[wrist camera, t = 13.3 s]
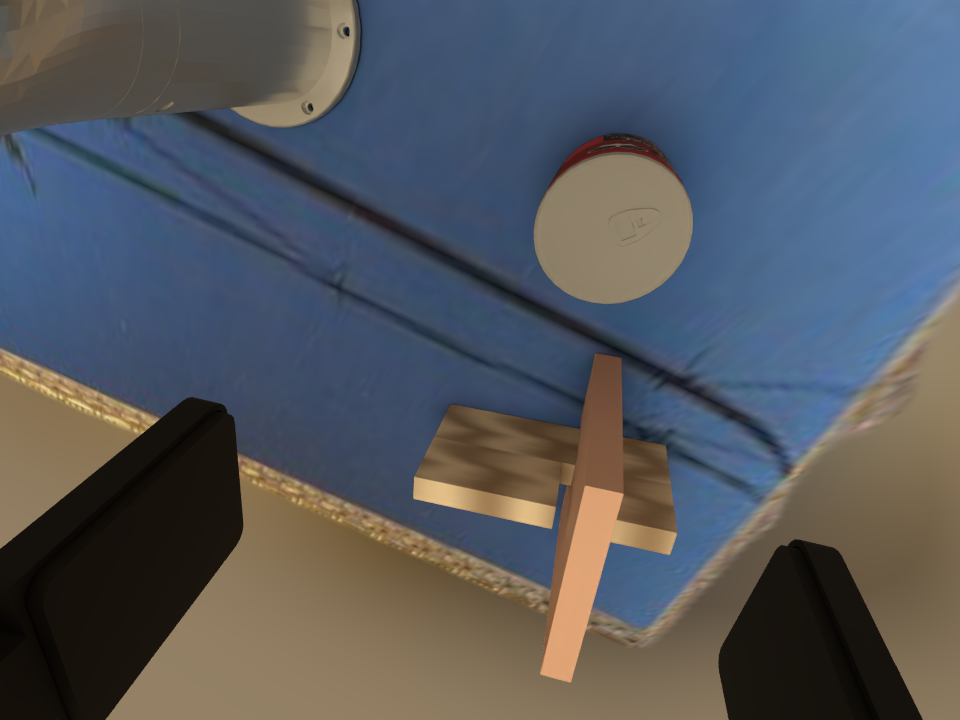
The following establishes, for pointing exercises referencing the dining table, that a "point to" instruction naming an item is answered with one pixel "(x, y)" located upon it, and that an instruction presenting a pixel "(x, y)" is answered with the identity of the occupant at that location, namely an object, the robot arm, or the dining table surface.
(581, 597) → the terracotta plate
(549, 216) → the canned food
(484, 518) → the dining table surface
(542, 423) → the oak board
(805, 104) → the dining table surface
